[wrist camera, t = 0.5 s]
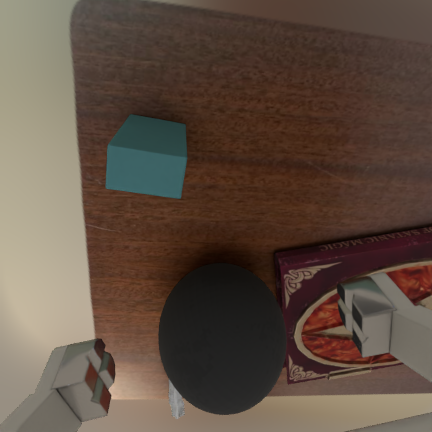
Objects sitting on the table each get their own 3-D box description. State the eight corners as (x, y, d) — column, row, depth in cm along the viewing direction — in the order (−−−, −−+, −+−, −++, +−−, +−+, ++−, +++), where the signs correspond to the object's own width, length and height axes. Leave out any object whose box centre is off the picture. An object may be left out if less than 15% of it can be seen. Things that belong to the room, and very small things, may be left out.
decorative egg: (178, 326, 42) (173, 458, 29) (151, 249, 36) (129, 370, 23) (272, 308, 41) (311, 432, 28) (260, 227, 35) (303, 337, 22)
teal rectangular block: (130, 113, 29) (107, 144, 20) (185, 123, 30) (187, 157, 21) (127, 146, 30) (105, 188, 21) (180, 155, 31) (180, 199, 22)
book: (508, 207, 38) (551, 227, 34) (469, 334, 48) (498, 363, 43) (272, 246, 38) (284, 272, 33) (281, 367, 47) (291, 399, 43)
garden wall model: (167, 321, 41) (165, 361, 36) (181, 320, 41) (181, 360, 36) (172, 381, 47) (170, 424, 41) (184, 381, 47) (184, 423, 42)
